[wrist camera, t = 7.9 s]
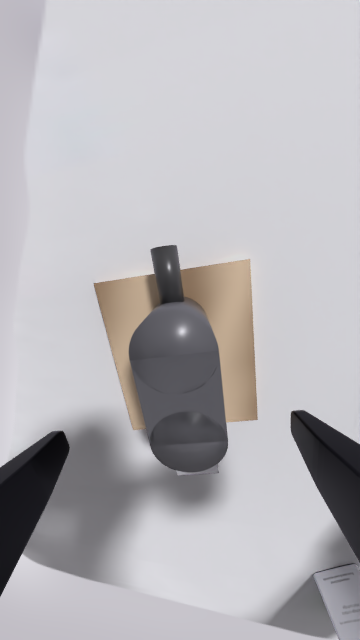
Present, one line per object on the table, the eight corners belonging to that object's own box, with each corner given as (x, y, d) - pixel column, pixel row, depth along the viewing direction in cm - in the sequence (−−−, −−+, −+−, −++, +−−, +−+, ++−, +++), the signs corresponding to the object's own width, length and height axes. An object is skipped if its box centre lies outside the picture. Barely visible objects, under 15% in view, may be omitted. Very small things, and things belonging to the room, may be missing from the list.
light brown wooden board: (246, 259, 12) (250, 259, 11) (254, 413, 15) (257, 419, 14) (97, 282, 12) (93, 283, 12) (135, 424, 16) (133, 430, 15)
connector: (199, 245, 11) (206, 230, 7) (220, 436, 15) (234, 506, 10) (135, 256, 11) (102, 247, 7) (172, 440, 15) (165, 509, 11)
